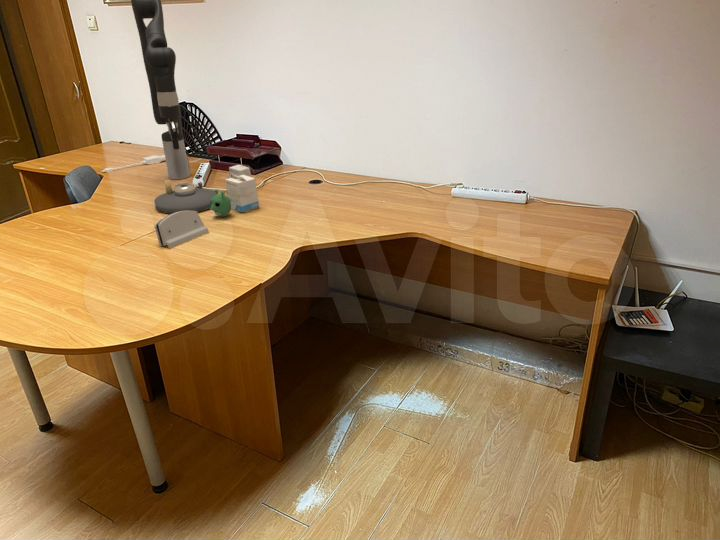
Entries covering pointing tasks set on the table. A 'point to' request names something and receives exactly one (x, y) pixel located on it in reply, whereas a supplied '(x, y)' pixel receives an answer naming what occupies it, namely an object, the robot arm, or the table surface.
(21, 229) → the table surface
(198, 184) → the index post
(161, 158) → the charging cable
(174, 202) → the turntable
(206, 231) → the grey curved-top upright plate
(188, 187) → the cover
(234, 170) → the ink box
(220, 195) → the alien toy
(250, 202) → the ink box
